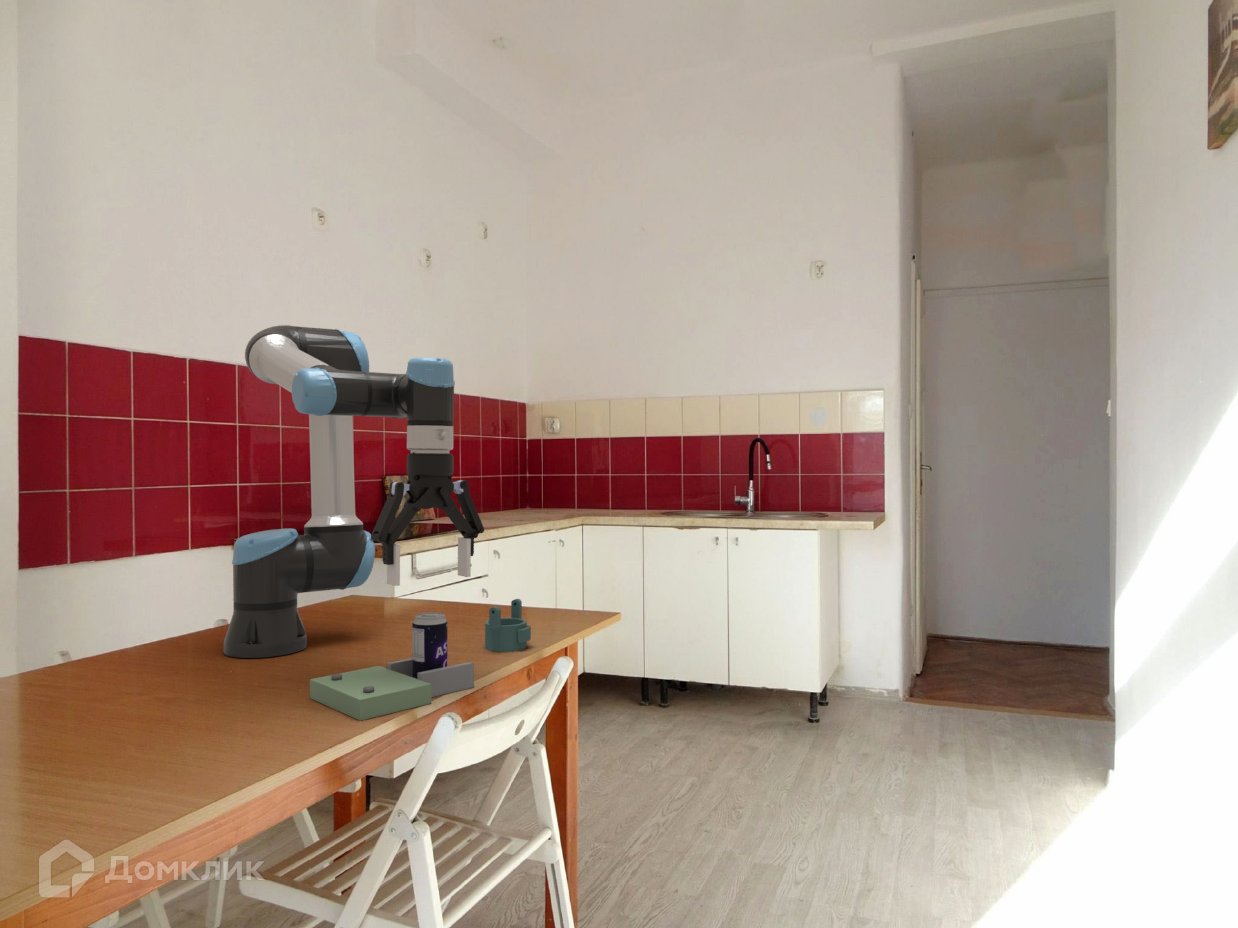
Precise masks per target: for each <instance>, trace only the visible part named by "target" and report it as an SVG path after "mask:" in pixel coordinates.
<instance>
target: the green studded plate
mask: <svg viewBox="0 0 1238 928" xmlns="http://www.w3.org/2000/svg"><path fill="white" fill-rule="evenodd" d="M473 688H475V663H474V662H473V661H472V662H471V661H467V662H462V663H458V664H454V665H448V667H443V668H438V669H433V670H429V671H424V672H419V673H417V679H415V678H413V677H412V657H409V658H405V659H401V660H395V661H390V662H387V663H386V667H384V666H380V665H377V666H376V665H375V666H371V667H366V668H361V669H360V668H359V669H356V670H355V669H354V670H351V671H345V672H340V673H334V674H330V675H324V676H320V677H314V678H311V679H310V678H309V699H311V700H314V701H315V702H318V703H320V704H322V705H324V706H327V707H329V708H331V709H334V710H336V711H337V712H340V713H342V714H345V715H346V716H349V717H351V718H354V719H356V720H358V721H360V722H361V721H363V720H364V721H365V720H368V719H371V718H376V717H382V716H384V715H389V714H393V713H397V712H402V711H405V710H409V709H413V708H417V707H423V706H426V705H430V704H432V699H433V698H434V697H435V698H436V697H438V696H443V695H447V694H450V693H455V692H459V691H464V690H467V689H473Z"/></svg>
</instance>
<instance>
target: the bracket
mask: <svg viewBox="0 0 1238 928" xmlns="http://www.w3.org/2000/svg"><path fill="white" fill-rule="evenodd" d="M510 602H511V603H510V609H511V610H510V612H511V613H510V617H501V615H502V613H501V611H502V609H501V607H500V606H496V605H495V606H493V607H491V608H489V611H488V612H489V614H488V615H489V616H488V620H485V622H484V648H485V650H486V651H489V652H496V653H497V652H498V653H511V652H512V653H513V652H519V651H523V650H525V649H527V646H528V644H527V643H528V642H529V641H531V639H532V636H531V634H532V633H531V632H532V630H531V629H532V628H531V627H532V626H531V625H527V624H528V623H527V620H526V619H523V617H522V613H523V612H522V608H523V607H522V603H523V602H522V600H521V599H520V598H515V599H513V600H511V601H510Z"/></svg>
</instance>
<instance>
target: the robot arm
mask: <svg viewBox="0 0 1238 928" xmlns="http://www.w3.org/2000/svg"><path fill="white" fill-rule="evenodd" d="M244 360H245V362H246V363H245V364H246V366H247V369H249V371H250V372H251V373H252V374H253V376H255V377H256V378H257V379H259V380H261V381H263V382H265V383H267V384H271V385H272V384H273V385H274V384H275V385H278V386H280V387H281V388H283V389H285V390H286V391H287V392H289V393H291V398H292V403H293V404H294V408H295V410H296V411H297V412H298V413H300V414H304V415H308V418H309V419H308V422H309V425H308V426H309V457H310V458H309V459H310V460H309V462H310V496H311V497H310V498H311V501H310V502H311V503H310V504H311V517H310V518H309V520H308V521H307V522H306V523H305V524H304V525H303V526H304V527H303V528H304V529H303V531H304V534H301V535H300V534H299V533H298V531H297V529H296V528H288V527H287V528H279V529H278V528H277V529H269V530H262V531H257V532H253V533H252V532H251V533H249V534H246V535H245V534H244V535H242V536H240V537H239V538H238V539H236V541H235V542H234V543H233V544H234V545H233V552H232V561H231V565H232V566H233V567H232V571H233V572H232V574H233V576H232V577H233V579H232V581H233V582H232V583H233V584H232V588H233V591H232V592H233V597H232V598H233V599H232V601H233V612H232V615H231V619H230V622H229V625H228V628H227V631H226V633H225V637H224V640H223V654H224V655H225V656H227V657H232V658H240V659H259V658H262V659H263V658H272V657H279V656H285V655H291V654H294V653H297V652H300V651H303V650H305V649H306V648H307V647H308V642H307V641H308V637H307V633H306V629H305V627H304V624H303V621H302V618H301V616H300V612H299V610H298V594H303V593H314V592H324V591H334V590H340V591H341V590H342V591H343V590H347V589H350V588H351V589H352V588H357V587H361V586H362V585H363V584H364V583H366V582H367V580H368V579H369V577H370V576H371V573H372V571H373V568H374V563H375V556H376V555H375V553H376V548H375V547H376V546H375V542H378V543H380V544H381V545H382V562H383V565H386V585H390V586H395V587H398V586H401V583H400V582H401V545H400V544H399V543H396V542H397V541H398V540H399V538H400V537H401V535H402V534H403V532H404V531H405V529H406V528H407V526H408V525H410V522H411V521H412V520H413V519H414V516H416V514H417V513H418V512H420V511H421V510H422V509H423V510H430V509H441V510H443V512H444V513H445V515H446V516H447V517H448V519H449V520H450V521H451V522H452V524H453V525H454V527H455V528H456V529H457V530H458V532H459V533H460V535H462V536H461V537H457V576H458V577H459V576H460V577H464V578H471V573H472V572H471V571H472V570H471V569H472V568H471V565H472V564H471V559H472V557H473V556H474V554H475V547H474V546H475V539H477V538H478V537H479V534H483V533H484V531H485V528H484V525H483V523H482V521H481V518H480V516H479V513H478V511H477V509H476V505H475V504H474V501H473V498H472V496H471V493H470V484H469V481H468V480H464V479H463V480H460V479H459V480H458V479H457V480H455V481H453V474H454V455H453V454H452V453H450V451H452V450H453V449H454V417H455V416H454V411H455V410H454V409H455V405H454V403H455V385H456V383H455V382H456V381H455V380H454V379H455V378H454V365H453V362H452V361H451V360H449V359H446V358H442V357H440V358H439V357H421V356H420V357H413V358H410V359H409V360H408V362H407V366H406V367H407V368H406V372H405V373H389V372H375V371H374V372H372V371H370V359H369V354H368V350H367V348H366V344H365V343H364V341H363V340H362V338H361V337H360V336H359V335H358V334H357V333H355V332H352V331H345V330H340V329H338V328H336V329H332V328H322V327H321V328H320V327H308V326H307V327H306V326H295V325H288V324H285V325H284V324H283V325H282V324H281V325H274V326H270V327H267V328H265V329H262V330H260V331H258V332H257V333H256V334H254V335H253V336H252V337H251V338H250V339H249V341H248V343H247V344H246V346H245V350H244ZM353 416H354V417H355V416H356V417H357V416H358V417H377V418H380V417H381V418H390V419H403V420H404V419H406V420H407V421H406V425H407V427H406V449H407V450H408V451H410V453H407V455H406V475H407V481H406V483H403V482H401V481H391V482H390V483H389V489H388V496H387V498H386V501H385V503H384V505H383V507H382V509H381V511H380V513H379V516H378V519H377V520H376V523H375V526H374V527H373V530H372V532H371V533H370V532H369V531H366V530H364V523H363V521H361V519H359V518H358V517H357V514H356V495H355V493H356V491H355V489H356V488H355V463H354V461H355V460H354V458H355V456H354V429H353V427H354V425H353ZM452 493H454V494H455V497H456V500H457V501H458V504H459V507H460V509H461V511H460V509H459V508H458V507H457V503H456V502H455V501H454V499H453V498H452V496H451V495H452ZM407 494H408V496H409V497H408V498H407V500H406V501H405V502H404V504H403V507H402V508H401V510H400V511H399V513H398V510H399V508H400V506H401V504H402V501H403V499H404V496H405V495H407ZM397 513H398V514H397ZM396 515H397V516H396ZM374 541H375V542H374Z"/></svg>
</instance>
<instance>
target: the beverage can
mask: <svg viewBox="0 0 1238 928" xmlns="http://www.w3.org/2000/svg"><path fill="white" fill-rule="evenodd" d="M411 624H412V626H411V627H412V628H411V630H412V631H411V632H412V633H411V634H412V636H411V637H412V639H411V641H412V643H411V644H412V646H411V647H412V654H411V655H412V657H411V658H412V677H413V678H415V679H417V673H419V672H424V671H429V670H433V669H438V668H443V667H448V666H449V665H448V664H449V663H448V661H449V657H448V651H449V650H448V649H449V648H448V620H447V619H446V614H445V613H444V612H443V613H442V612H438V611H437V612H436V611H434V612H432V611H431V612H420V613H417V614H415V615H414V619H413V621H412V623H411Z"/></svg>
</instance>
